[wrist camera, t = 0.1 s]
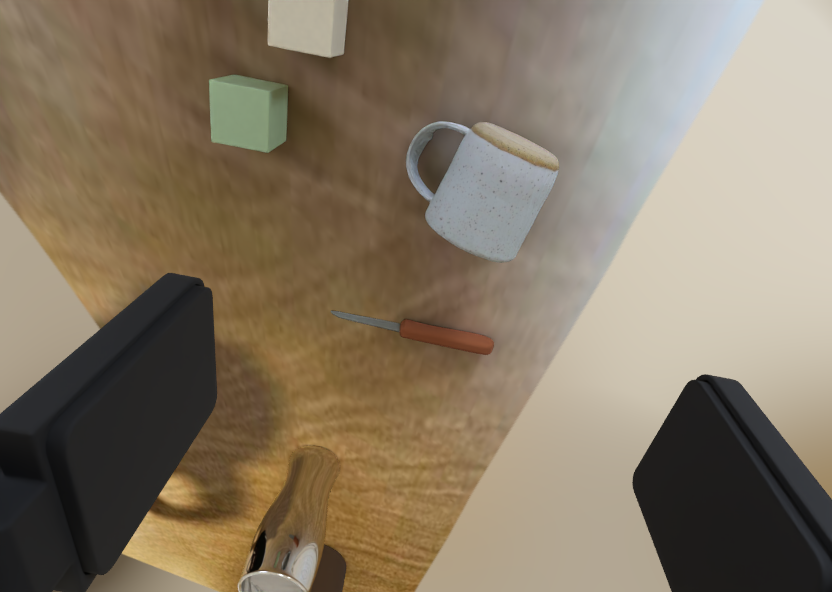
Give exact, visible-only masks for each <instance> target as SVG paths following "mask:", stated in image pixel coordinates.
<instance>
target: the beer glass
mask: <svg viewBox="0 0 832 592" xmlns="http://www.w3.org/2000/svg"><path fill="white" fill-rule="evenodd" d="M339 472H340V462H339V460H338V458H337V457H336V456H335V455H334V454H333V453H332V452H330V451H329V450H327V449H325V448H322V447H318V446H303V447H300V448H298V449H296V450H295V451H294V452H293V453H292V454H291V456H290V459H289V464H288V471H287V476H286V479H285V482H284V484H283V486H282V488H281V490H280V491H279V493H278V495H277V496H276V498H275V500H274V501H273V503H272V504H271V506H270V508H269V509H268V511H267V513H266V514H265V516H264V518H263V520H262V522H261V523H260V525H259V527H258V529H257V532H256V534H255V536H254V538H253V541H252V544H251V546H250V549H249V552H248V555H247V558H246V561H245V564H244V568H243V571H242V574H241V577H240V580H239V582H238V591H239V592H310V591H311V588H312V585H313V583H314V580H315V577H316V574H317V571H318V567H319V564H320V560H321V557H322V552H323V548H324V542H325V535H326V525H327V512H328V502H329V496H330V492H331V489H332V487H333V485H334V483H335V481H336V479H337V477H338V475H339Z"/></svg>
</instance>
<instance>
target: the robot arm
mask: <svg viewBox="0 0 832 592" xmlns="http://www.w3.org/2000/svg"><path fill="white" fill-rule="evenodd" d="M216 399H217V382H216V361H215V339H214V318H213V297H212V291H211V289H210V288H207V287H204V283H203V281H202V280H201V279H200V278H195V277H190V276H185V275H179V274H174V273H167V274H166V275H164V276H163V277H162V278H160V279H159V280H158V281H157V282H156V283H155V284H153V285H152V286H151V287H150V288H149V289H147V290H146V291H145V292H144V293H143V294H142V295H140V296H139V297H138V298H137V299H136V300H134V301H133V302H132V303H131V304H130V305H129V306H127V307H126V308H125V309H124V310H123V311H121V312H120V313H119V314H118V315H117V316H115V317H114V318H113V319H112V320H111V321H110V322H108V323H107V324H106V325H105V326H104V327H102V328H101V329H100V330H99V331H98V332H97V333H96V334H94V335H93V336H92V337H91V338H89V339H88V340H87V341H86V342H85V343H83V344H82V345H81V346H80V347H79V348H78V349H76V350H75V351H74V352H73V353H72V354H71V355H69V356H68V357H67V358H66V359H65V360H63V361H62V362H61V363H60V364H59V365H57V366H56V367H55V368H54V369H53V370H51V371H50V372H49V373H48V374H47V375H46V376H44V377H43V378H42V379H41V380H40V381H38V382H37V383H36V384H35V385H34V386H33V387H31V388H30V389H29V390H28V391H27V392H25V393H24V394H23V395H22V396H21V397H20V398H18V399H17V400H16V401H15V402H14V403H12V404H11V405H10V406H9V407H8V408H6V409H5V410H4V411H3V412H2V413H1V414H0V592H52V591H53V590H56V591H62V592H86V590H87V589H88V587H89V586H90V584H91V583H92V581H93V580H94V578H95V576H96V575H97V574H99V575H104V574H106V573H107V572H108V571H109V570H110V569H111V568H112V566H113V565H114V564H115V562H116V561H117V559H118V558H119V556H120V555H121V553H122V551H123V550H124V548H125V547H126V545H127V544H128V542H129V541H130V539H131V537H132V536H133V534H134V533H135V531H136V530H137V528H138V527H139V525H140V523H141V522H142V520H143V519H144V517H145V516H146V514H147V512H148V511H149V509H150V508H151V506H152V505H153V503H154V502H155V500H156V498H157V497H158V495H159V494H160V492H161V491H162V489H163V488H164V486H165V484H166V483H167V481H168V480H169V478H170V477H171V475H172V473H173V472H174V470H175V469H176V467H177V466H178V464H179V463H180V461H181V459H182V458H183V456H184V455H185V453H186V452H187V450H188V449H189V447H190V445H191V444H192V442H193V441H194V439H195V438H196V436H197V435H198V433H199V431H200V430H201V428H202V427H203V425H204V424H205V422H206V420H207V419H208V417H209V416H210V414H211V413H212V411H213V409H214V406H215V403H216ZM633 489H634V493H635V495H636V498H637V501H638V503H639V506H640V508H641V511H642V514H643V516H644V519H645V522H646V524H647V527H648V530H649V532H650V535H651V537H652V540H653V543H654V546H655V548H656V551H657V554H658V556H659V559H660V562H661V564H662V567H663V570H664V572H665V574H666V578H667V580H668V583H669V586H670V588H671V591H672V592H832V500H831V498H830V497H829V495H828V494H827V493H826V492H825V490H824V489H823V488H822V486H821V485H820V484H819V483H818V482H817V480H816V479H815V478H814V476H813V475H812V474H811V473H810V471H809V470H808V469H807V467H806V466H805V465H804V464H803V462H802V461H801V460H800V459H799V457H798V456H797V455H796V453H795V452H794V451H793V450H792V448H791V447H790V446H789V445H788V443H787V442H786V441H785V439H784V438H783V437H782V436H781V434H780V433H779V432H778V431H777V429H776V428H775V427H774V426H773V425H772V423H771V422H770V421H769V419H768V418H767V417H766V415H765V414H764V413H763V412H762V410H761V409H760V408H759V406H758V405H757V404H756V403H755V401H754V400H753V399H752V398H751V396H750V395H749V394H748V392H747V391H746V390H745V389H744V388H743V386H742V385H741V384H740V383H739V382H738V381H736V380H732V379H727V378H722V377H717V376H711V375H701V376H699V377H698V378H697V379H696V380H691V381H689V382H688V383H687V385H686V386H685V387H684V389H683V391H682V392H681V394H680V396H679V398H678V399H677V401H676V403H675V404H674V406H673V408H672V409H671V411H670V413H669V414H668V416H667V418H666V419H665V421H664V423H663V425H662V426H661V428H660V430H659V431H658V433H657V435H656V436H655V438H654V440H653V441H652V443H651V445H650V446H649V448H648V450H647V452H646V453H645V455H644V456H643V458H642V460H641V461H640V463H639V465H638V467H637V468H636V470H635V472H634V475H633Z"/></svg>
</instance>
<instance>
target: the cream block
mask: <svg viewBox="0 0 832 592" xmlns="http://www.w3.org/2000/svg"><path fill="white" fill-rule="evenodd" d="M347 11H348V0H268V45H269V46H272V47H277V48H282V49H287V50H292V51H297V52H302V53H307V54H312V55H317V56H322V57H327V58H331V57H335V56H339V55H343V54H344V45H345V34H346V22H347Z"/></svg>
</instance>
